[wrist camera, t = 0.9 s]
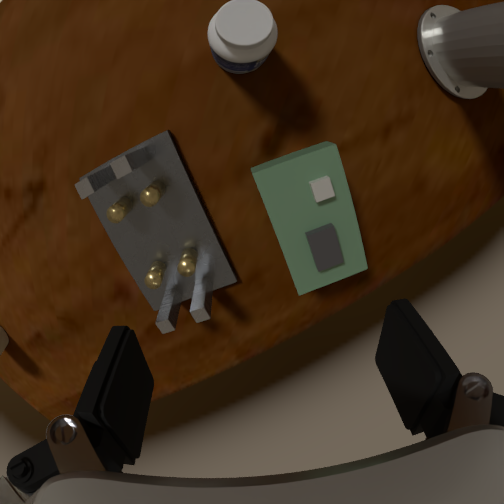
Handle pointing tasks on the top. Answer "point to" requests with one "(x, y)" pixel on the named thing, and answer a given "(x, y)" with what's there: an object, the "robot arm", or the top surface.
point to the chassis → (160, 228)
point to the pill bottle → (242, 35)
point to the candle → (3, 340)
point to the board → (312, 215)
